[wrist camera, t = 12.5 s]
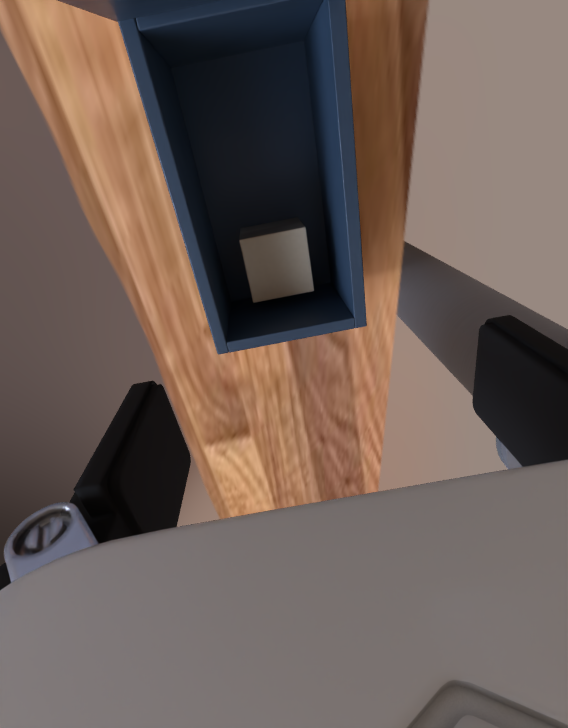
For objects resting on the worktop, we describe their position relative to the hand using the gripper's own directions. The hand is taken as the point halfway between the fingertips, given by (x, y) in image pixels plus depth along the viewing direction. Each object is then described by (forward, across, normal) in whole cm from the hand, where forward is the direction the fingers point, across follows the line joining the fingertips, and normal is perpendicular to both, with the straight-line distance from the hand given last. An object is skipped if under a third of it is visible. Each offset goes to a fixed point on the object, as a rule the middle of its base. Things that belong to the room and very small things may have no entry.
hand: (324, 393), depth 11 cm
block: (+18, +1, 0) cm, 18 cm away
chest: (+18, +1, -5) cm, 19 cm away
